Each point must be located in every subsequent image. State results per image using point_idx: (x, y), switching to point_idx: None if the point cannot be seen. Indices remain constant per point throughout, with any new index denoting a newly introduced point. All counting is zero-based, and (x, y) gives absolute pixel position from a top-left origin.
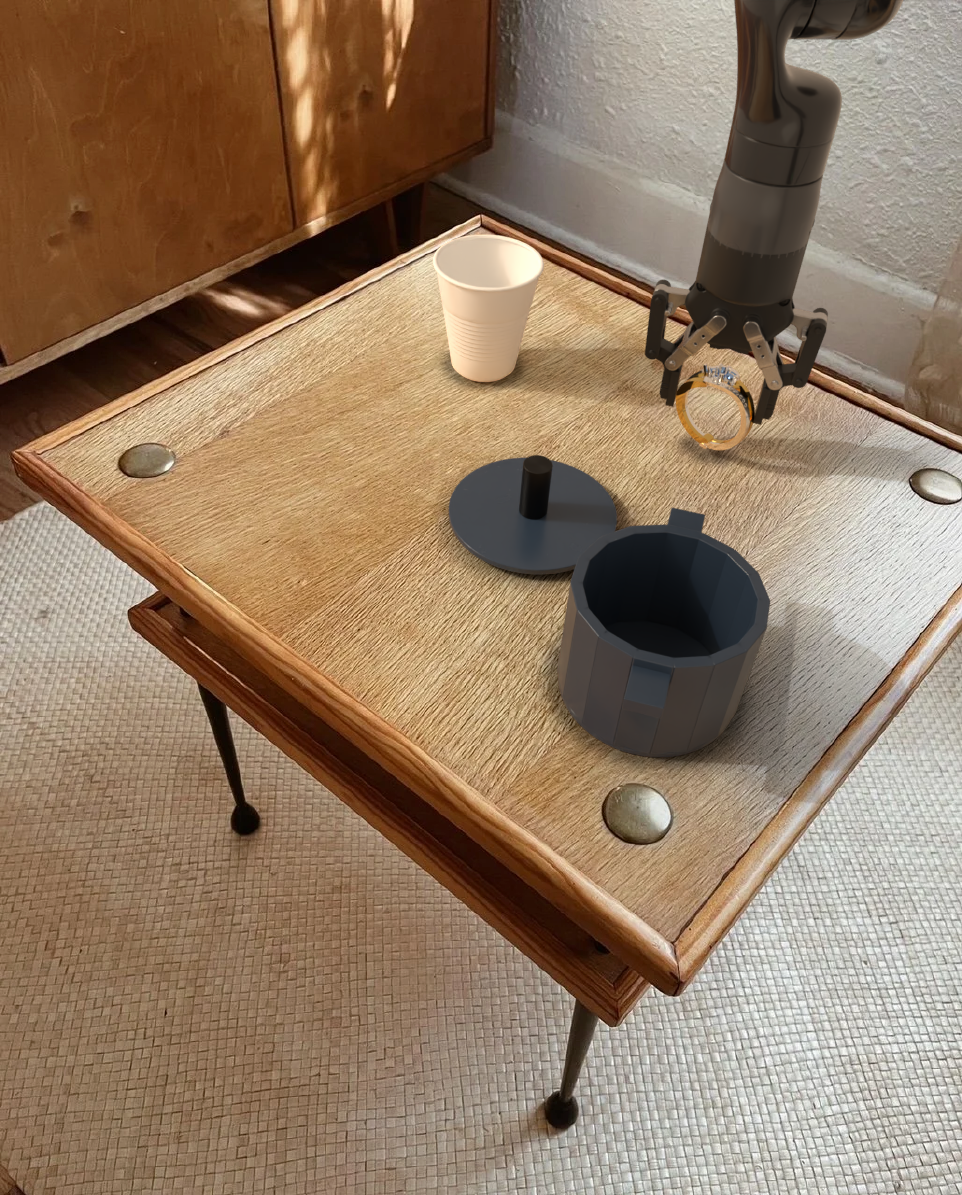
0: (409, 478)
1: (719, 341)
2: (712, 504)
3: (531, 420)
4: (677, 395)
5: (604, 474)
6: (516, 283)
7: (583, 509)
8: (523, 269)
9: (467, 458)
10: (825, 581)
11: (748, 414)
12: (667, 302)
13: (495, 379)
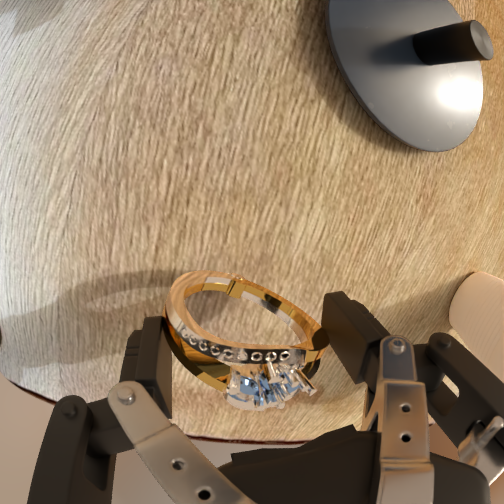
0: (498, 109)
1: (340, 453)
2: (189, 151)
3: (440, 238)
4: (320, 327)
5: (362, 162)
6: None
7: (379, 54)
8: None
9: (477, 149)
10: (17, 77)
11: (172, 319)
12: (497, 444)
13: (466, 281)
